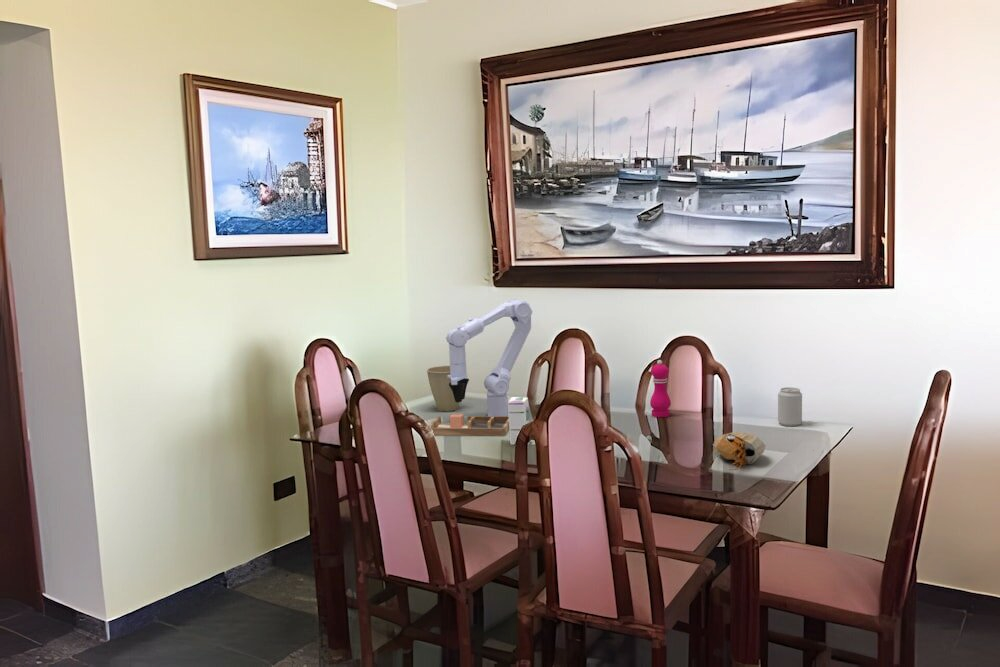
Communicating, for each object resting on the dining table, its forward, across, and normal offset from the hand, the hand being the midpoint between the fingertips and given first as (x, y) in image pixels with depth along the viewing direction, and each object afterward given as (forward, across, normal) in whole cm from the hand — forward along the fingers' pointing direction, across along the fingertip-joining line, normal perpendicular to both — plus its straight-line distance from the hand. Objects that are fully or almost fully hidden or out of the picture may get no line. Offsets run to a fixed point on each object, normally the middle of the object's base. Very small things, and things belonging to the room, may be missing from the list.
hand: (459, 400), depth 286 cm
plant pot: (+9, -22, -10) cm, 25 cm away
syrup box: (+9, +24, +25) cm, 35 cm away
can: (+9, 0, +112) cm, 112 cm away
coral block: (+8, +6, 0) cm, 10 cm away
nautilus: (+9, +42, +91) cm, 100 cm away
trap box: (+8, +10, +6) cm, 14 cm away
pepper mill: (+9, -12, +70) cm, 72 cm away
